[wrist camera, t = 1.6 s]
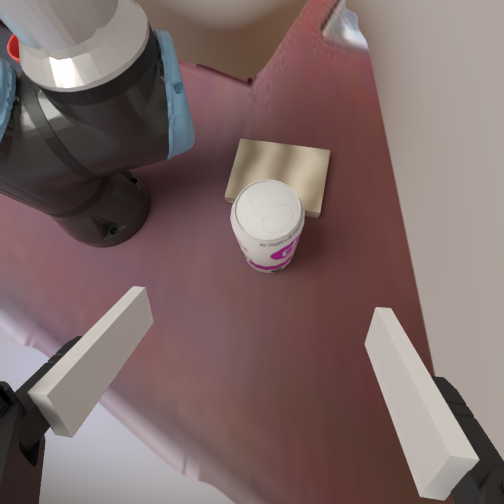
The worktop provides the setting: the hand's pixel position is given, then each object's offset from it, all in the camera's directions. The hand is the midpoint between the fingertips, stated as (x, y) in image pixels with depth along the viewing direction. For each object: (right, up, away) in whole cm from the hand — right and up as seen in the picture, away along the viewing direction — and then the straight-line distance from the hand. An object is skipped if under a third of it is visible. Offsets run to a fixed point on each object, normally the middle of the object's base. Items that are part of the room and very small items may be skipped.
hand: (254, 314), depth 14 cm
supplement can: (+3, +4, +26) cm, 26 cm away
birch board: (+4, +17, +29) cm, 34 cm away
